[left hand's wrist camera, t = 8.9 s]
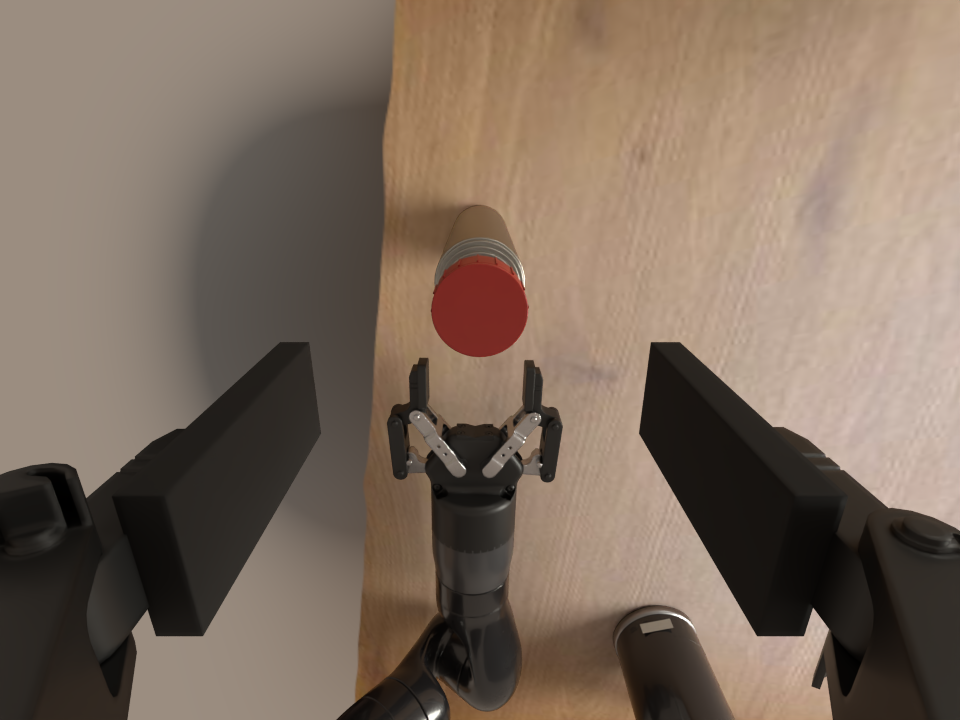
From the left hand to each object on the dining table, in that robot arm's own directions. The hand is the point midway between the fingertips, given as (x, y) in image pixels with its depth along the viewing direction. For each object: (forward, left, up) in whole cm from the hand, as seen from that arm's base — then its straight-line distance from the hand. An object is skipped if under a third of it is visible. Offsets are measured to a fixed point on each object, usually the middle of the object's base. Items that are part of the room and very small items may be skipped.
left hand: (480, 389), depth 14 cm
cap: (0, 0, -8) cm, 8 cm away
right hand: (+9, +2, -25) cm, 27 cm away
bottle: (0, 0, -31) cm, 31 cm away
